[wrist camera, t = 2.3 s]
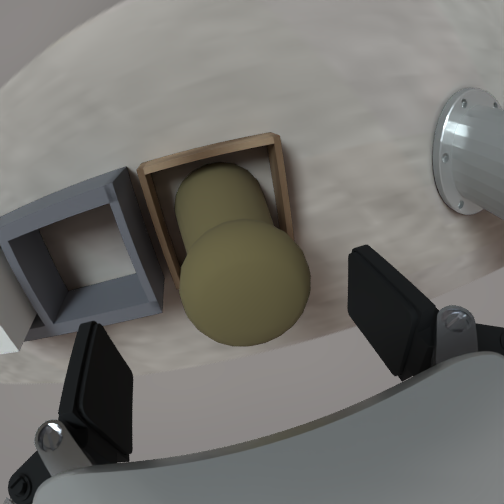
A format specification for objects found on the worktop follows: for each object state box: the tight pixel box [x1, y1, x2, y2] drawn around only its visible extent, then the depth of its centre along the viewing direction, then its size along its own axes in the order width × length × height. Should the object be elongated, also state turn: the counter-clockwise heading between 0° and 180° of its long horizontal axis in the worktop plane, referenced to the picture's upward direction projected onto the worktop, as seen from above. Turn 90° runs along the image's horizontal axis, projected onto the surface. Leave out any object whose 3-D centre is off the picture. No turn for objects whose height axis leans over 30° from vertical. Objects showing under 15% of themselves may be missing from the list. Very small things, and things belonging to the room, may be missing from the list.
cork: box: [174, 162, 310, 346], centre depth 15 cm, size 6×6×11 cm
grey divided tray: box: [0, 167, 164, 342], centre depth 17 cm, size 17×9×4 cm, turn 100°
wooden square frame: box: [137, 132, 294, 289], centre depth 19 cm, size 8×8×2 cm
